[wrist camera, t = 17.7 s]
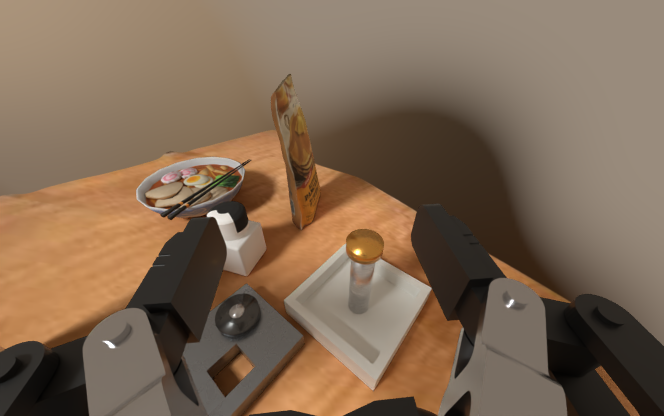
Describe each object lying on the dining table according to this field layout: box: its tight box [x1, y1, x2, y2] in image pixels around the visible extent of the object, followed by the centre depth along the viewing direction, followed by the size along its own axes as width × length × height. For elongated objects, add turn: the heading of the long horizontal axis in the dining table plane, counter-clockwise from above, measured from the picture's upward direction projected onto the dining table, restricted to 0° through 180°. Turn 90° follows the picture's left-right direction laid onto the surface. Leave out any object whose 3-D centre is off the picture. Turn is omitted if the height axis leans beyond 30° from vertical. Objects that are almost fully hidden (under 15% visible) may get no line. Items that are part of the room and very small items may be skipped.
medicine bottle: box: [207, 201, 267, 276], centre depth 44 cm, size 7×7×12 cm
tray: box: [284, 244, 432, 391], centre depth 39 cm, size 16×16×4 cm
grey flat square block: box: [183, 283, 304, 416], centre depth 33 cm, size 13×13×4 cm
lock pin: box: [346, 229, 384, 314], centre depth 35 cm, size 5×5×14 cm
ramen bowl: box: [136, 157, 251, 220], centre depth 59 cm, size 25×23×8 cm
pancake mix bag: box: [271, 74, 320, 230], centre depth 52 cm, size 7×19×28 cm, turn 173°
